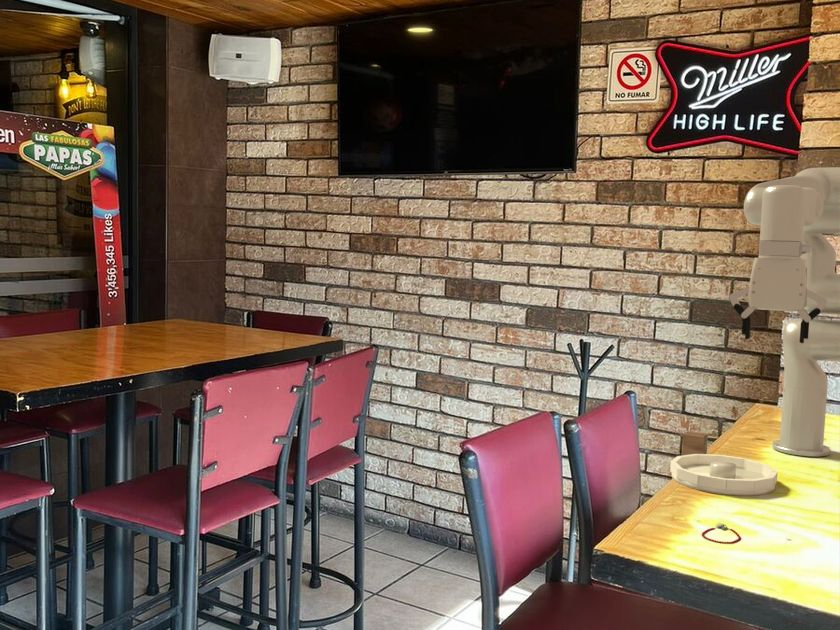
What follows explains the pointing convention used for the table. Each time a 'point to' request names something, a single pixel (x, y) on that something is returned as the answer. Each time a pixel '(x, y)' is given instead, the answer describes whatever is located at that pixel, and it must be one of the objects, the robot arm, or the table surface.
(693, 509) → the table surface
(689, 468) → the dish
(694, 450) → the wooden brick
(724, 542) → the red cord bracelet
